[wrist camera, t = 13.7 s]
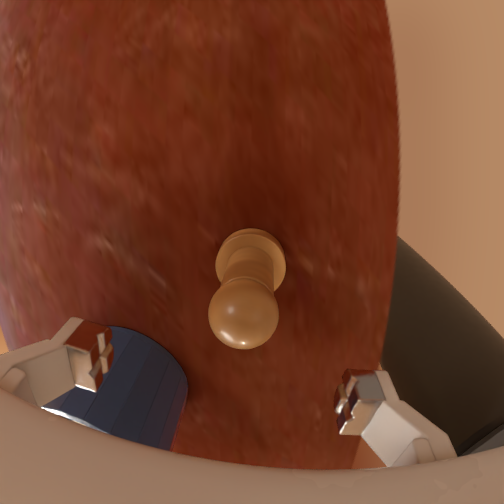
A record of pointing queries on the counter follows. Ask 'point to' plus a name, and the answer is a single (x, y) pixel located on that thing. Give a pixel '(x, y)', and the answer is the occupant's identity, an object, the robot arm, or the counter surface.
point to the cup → (132, 394)
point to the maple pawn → (247, 288)
